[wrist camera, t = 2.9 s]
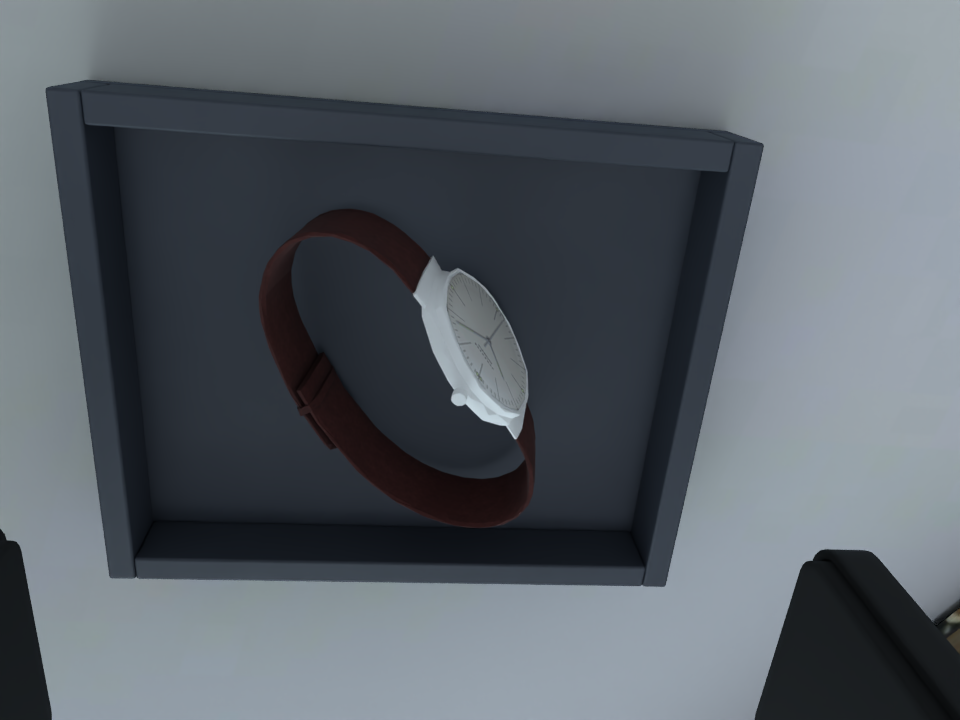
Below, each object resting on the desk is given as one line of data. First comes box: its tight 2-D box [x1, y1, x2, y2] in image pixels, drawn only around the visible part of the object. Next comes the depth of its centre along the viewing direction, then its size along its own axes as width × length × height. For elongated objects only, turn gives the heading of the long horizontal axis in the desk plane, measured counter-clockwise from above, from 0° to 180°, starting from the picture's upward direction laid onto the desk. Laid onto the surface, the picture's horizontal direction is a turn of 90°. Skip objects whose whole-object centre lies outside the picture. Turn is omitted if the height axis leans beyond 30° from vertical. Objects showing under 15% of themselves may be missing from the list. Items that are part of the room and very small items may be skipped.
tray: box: [46, 80, 764, 587], centre depth 17 cm, size 13×11×2 cm
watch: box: [259, 209, 536, 528], centre depth 16 cm, size 8×5×4 cm, turn 32°
